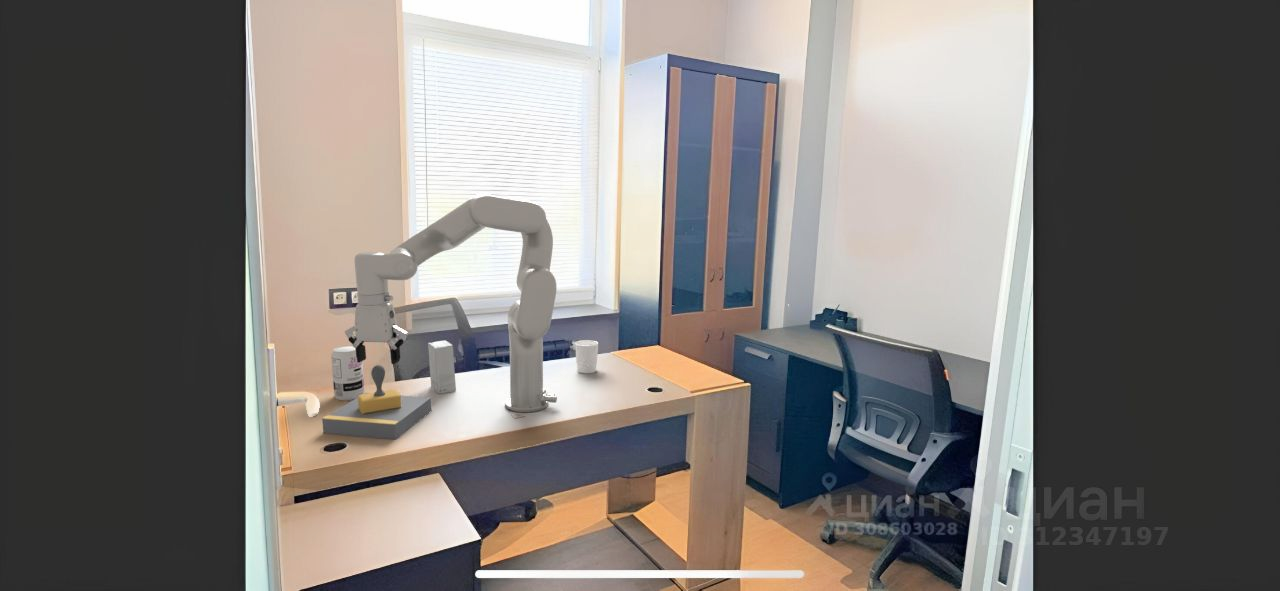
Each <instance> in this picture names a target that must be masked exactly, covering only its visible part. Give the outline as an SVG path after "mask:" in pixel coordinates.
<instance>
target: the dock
mask: <svg viewBox="0 0 1280 591" xmlns="http://www.w3.org/2000/svg"><path fill="white" fill-rule="evenodd" d="M367 393H368V392H364V394H367ZM430 411H431V412H432V411H433V410H432V398H431V397H426V396H425V397H424V396H412V395H401V408H396V409H390V410H384V411H378V412H373V413H367V414H362V413H361V411H360V410H359V406H358V398H356V399H354V400H350V401H349V402H347V403H346V404H345V405H343V406H342V407H339V408H337V409H336V410H334V411H333V412H331V413H330V414H328V415H325V416H323V417H322V419H321V421H322V431H323V432H322V433H323V434H325V433H327V435H328V434H329V435H338V436H348V437H361V438H362V437H363V438H375V439H386V440H397V439H398V438H400V437H401V436H402V435H404V434H405V433H406V432H408V431H409V430H410V429H411V428H412V427H413V426H415V425H416V424H417V423H418V422H420V421H421V420H422V419H424V418H425V417H426V416H427V415H429V414H430V413H431V412H430ZM429 412H430V413H429ZM425 415H426V416H425ZM424 416H425V417H424ZM420 419H421V420H420ZM419 420H420V421H419ZM415 423H416V424H415ZM414 424H415V425H414Z"/></svg>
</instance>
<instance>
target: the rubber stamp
mask: <svg viewBox="0 0 1280 591" xmlns="http://www.w3.org/2000/svg"><path fill="white" fill-rule="evenodd" d="M385 375H386V370H385V368H384V366H382V365H381V364H380V365H379V364H376V365H374V366H373V367H372V369H371V378H372V380H373V383H374V384H375V387H376V391H375V392H366V393H367V394H361V395H358V406H359V410H360V411H361V413H362V414H367V413H373V412H378V411H384V410H390V409H396V408H401V396H402V394H400V392H399V391H398V390H397V389H396V388H395V389H387V390H383V389H382V385H383V382H384V380H385V377H386V376H385Z"/></svg>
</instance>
